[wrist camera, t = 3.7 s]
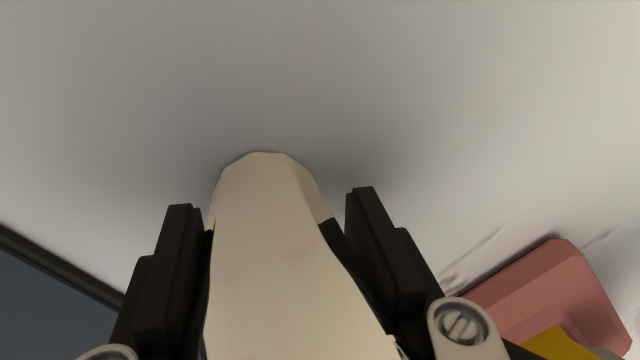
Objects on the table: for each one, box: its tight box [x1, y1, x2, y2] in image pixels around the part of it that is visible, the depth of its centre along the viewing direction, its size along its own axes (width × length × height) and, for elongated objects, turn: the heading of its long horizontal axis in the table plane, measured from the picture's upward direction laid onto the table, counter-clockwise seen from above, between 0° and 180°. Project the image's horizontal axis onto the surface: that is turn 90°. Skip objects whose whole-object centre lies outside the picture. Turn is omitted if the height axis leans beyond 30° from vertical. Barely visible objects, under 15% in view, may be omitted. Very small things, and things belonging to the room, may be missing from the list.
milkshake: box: [179, 152, 416, 360], centre depth 8 cm, size 4×5×10 cm
